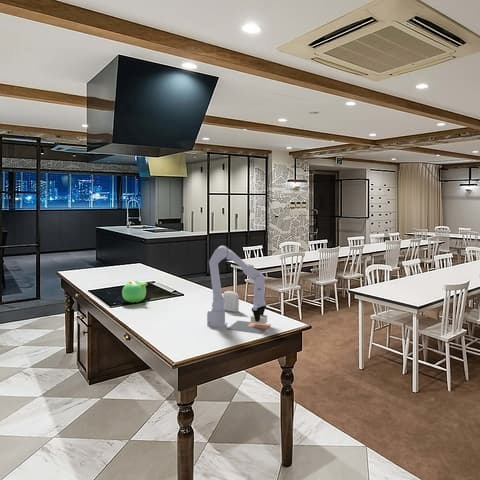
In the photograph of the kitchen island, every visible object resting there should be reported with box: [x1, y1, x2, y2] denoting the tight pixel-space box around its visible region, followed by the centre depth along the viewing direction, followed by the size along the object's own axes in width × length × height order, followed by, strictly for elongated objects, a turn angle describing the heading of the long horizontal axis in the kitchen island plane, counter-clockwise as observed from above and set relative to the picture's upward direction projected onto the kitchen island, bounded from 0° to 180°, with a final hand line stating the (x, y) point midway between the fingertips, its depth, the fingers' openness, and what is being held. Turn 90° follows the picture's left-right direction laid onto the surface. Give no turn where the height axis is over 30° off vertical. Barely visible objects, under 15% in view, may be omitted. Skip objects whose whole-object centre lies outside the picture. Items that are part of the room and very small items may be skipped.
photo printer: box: [222, 290, 240, 313], centre depth 250 cm, size 10×4×12 cm, turn 61°
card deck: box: [250, 313, 268, 324], centre depth 220 cm, size 5×8×4 cm, turn 68°
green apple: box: [121, 280, 148, 304], centre depth 270 cm, size 18×17×15 cm
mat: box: [226, 320, 272, 335], centre depth 218 cm, size 20×17×1 cm
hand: (258, 319), depth 220 cm, fingers closed on card deck, 5 cm apart
